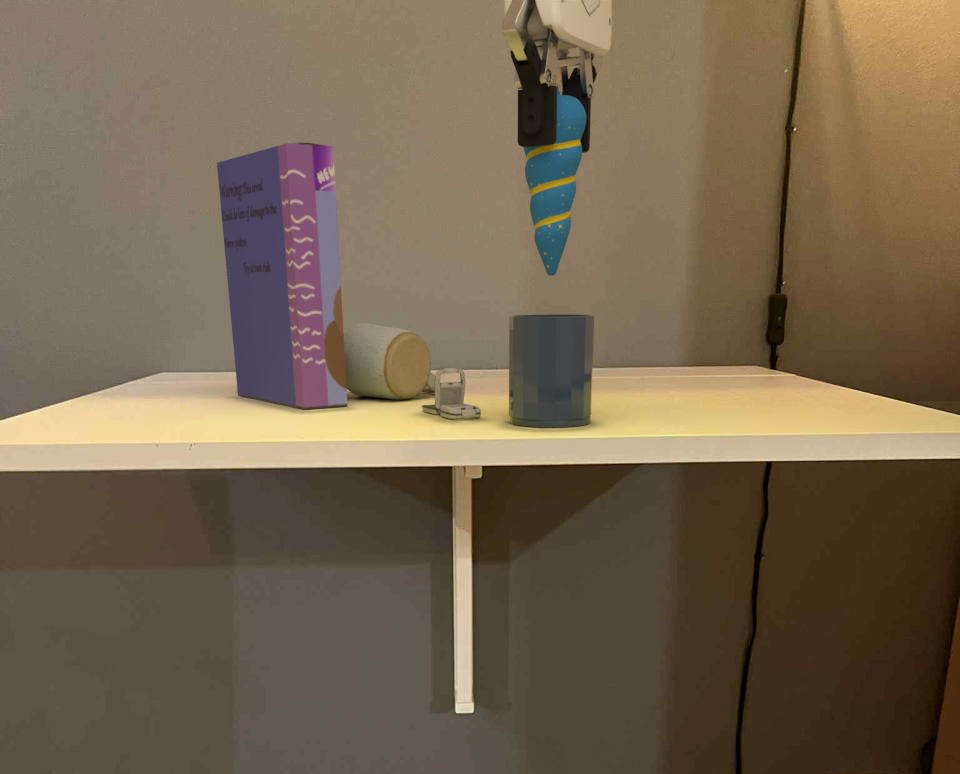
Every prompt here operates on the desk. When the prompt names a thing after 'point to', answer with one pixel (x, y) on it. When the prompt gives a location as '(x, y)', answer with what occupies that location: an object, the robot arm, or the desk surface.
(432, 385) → the ceramic mug
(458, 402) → the strap clip
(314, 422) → the desk surface
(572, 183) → the ornament
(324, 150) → the cereal box
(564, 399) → the cup
